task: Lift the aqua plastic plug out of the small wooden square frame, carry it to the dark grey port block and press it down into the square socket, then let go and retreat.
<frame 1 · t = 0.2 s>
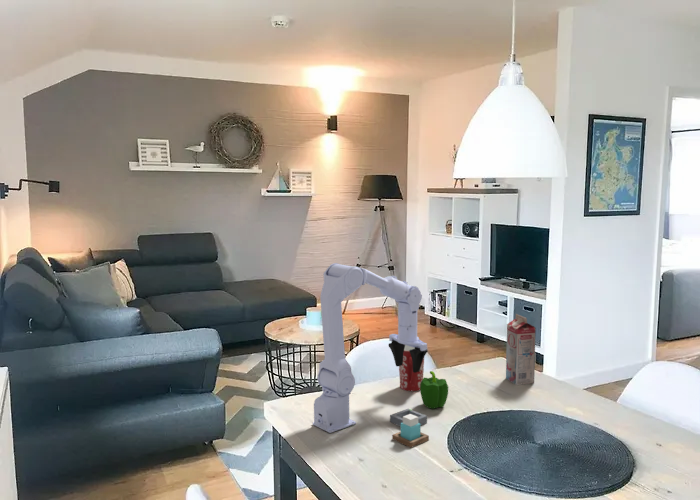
hand: (407, 368, 178), 10 cm above the table, tool pointing down, fingers open, 7 cm apart
bell pepper: (434, 406, 175), on the table
plug: (410, 428, 152), in the wooden square frame
mug: (411, 390, 189), on the table
juice carton: (519, 381, 197), on the table
port: (408, 422, 163), on the table
wooden square frame: (410, 439, 152), on the table
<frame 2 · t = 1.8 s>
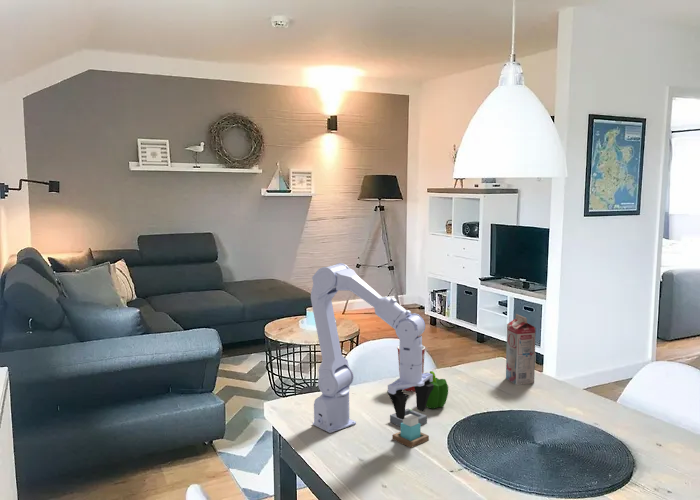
hand: (410, 414, 152), 7 cm above the table, tool pointing down, fingers open, 7 cm apart
nothing on the table moved.
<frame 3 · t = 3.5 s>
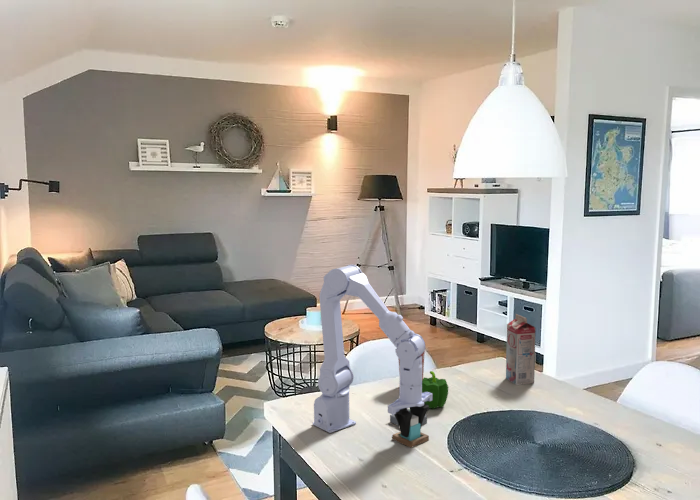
hand: (410, 433, 152), 2 cm above the table, tool pointing down, fingers closed on plug, 4 cm apart
plug: (410, 428, 152), in the wooden square frame, touching gripper
everything else where it was.
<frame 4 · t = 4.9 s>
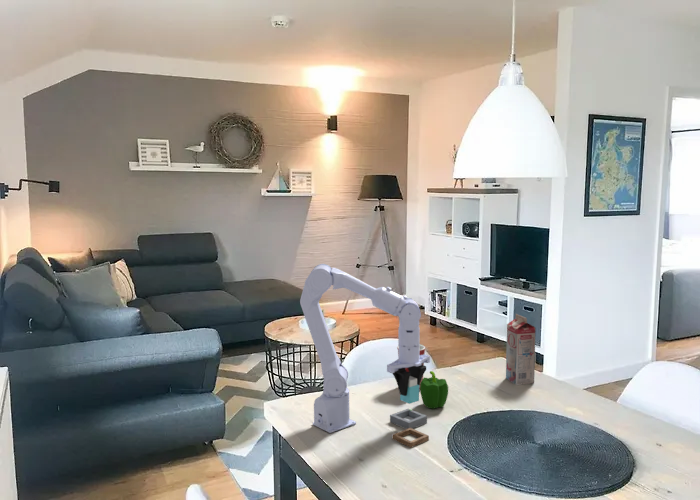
hand: (408, 392, 161), 9 cm above the table, tool pointing down, fingers closed on plug, 4 cm apart
plug: (409, 389, 161), point 10 cm above the table, touching gripper
everything else where it was.
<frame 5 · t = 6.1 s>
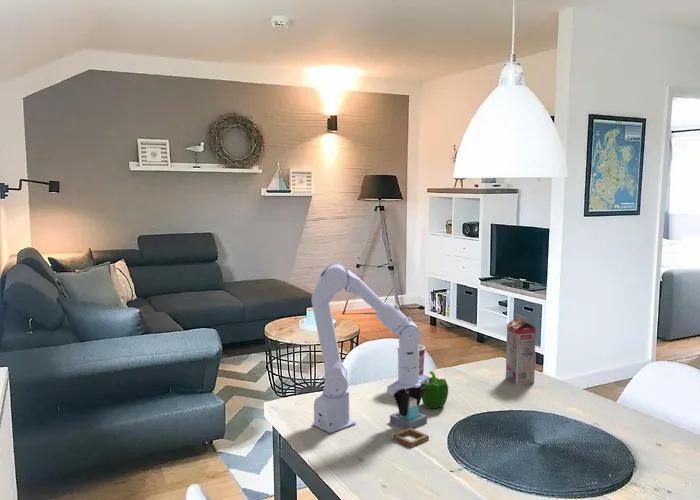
hand: (408, 413, 163), 3 cm above the table, tool pointing down, fingers closed on plug, 4 cm apart
plug: (409, 409, 163), in the port, point 4 cm above the table, touching gripper
everything else where it was.
when the fingers open (3 cm above the table, at t = 6.7 s): plug stays where it is, resting on port.
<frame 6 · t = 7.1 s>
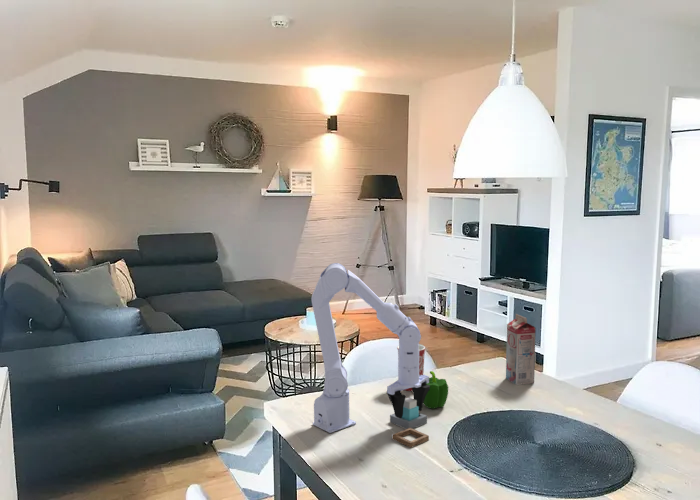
hand: (408, 413, 163), 3 cm above the table, tool pointing down, fingers open, 7 cm apart
plug: (409, 410, 163), in the port
everything else where it was.
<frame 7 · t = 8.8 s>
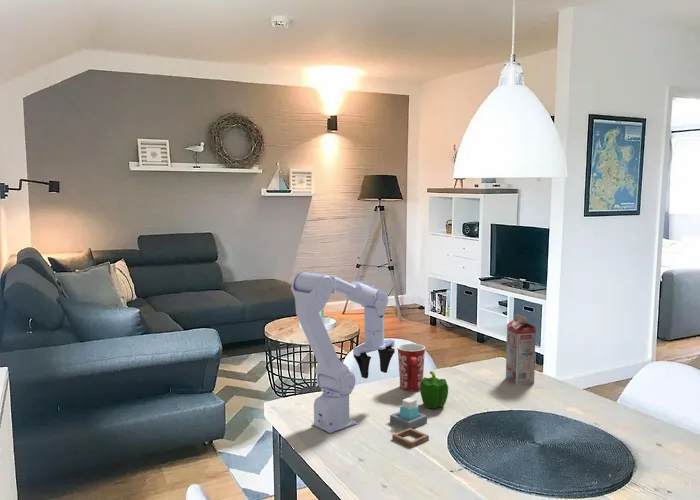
hand: (374, 374, 173), 10 cm above the table, tool pointing down, fingers open, 7 cm apart
nothing on the table moved.
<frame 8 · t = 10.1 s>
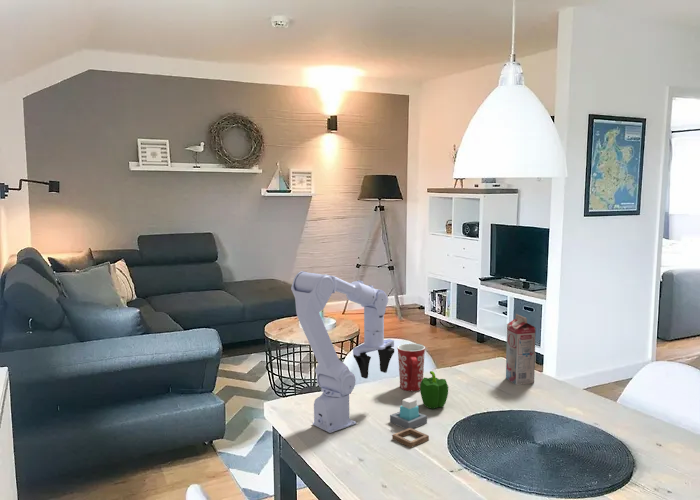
hand: (374, 374, 174), 10 cm above the table, tool pointing down, fingers open, 7 cm apart
nothing on the table moved.
at the end: plug 0.3 cm off-centre on the port, point 3.4 cm above the port's base; plug tilted 0°; the gripper is holding nothing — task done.
